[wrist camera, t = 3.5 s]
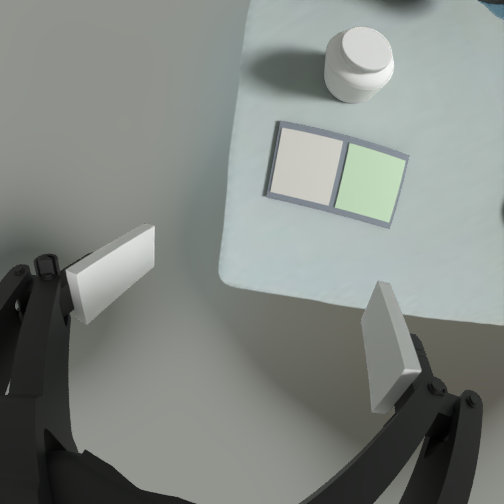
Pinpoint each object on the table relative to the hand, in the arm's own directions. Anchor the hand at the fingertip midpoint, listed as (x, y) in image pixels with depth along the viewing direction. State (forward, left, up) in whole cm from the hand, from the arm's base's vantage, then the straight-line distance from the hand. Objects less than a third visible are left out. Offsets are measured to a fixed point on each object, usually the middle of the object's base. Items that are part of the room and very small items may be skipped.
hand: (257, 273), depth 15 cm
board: (-4, +6, -29) cm, 29 cm away
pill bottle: (-19, +5, -29) cm, 35 cm away
